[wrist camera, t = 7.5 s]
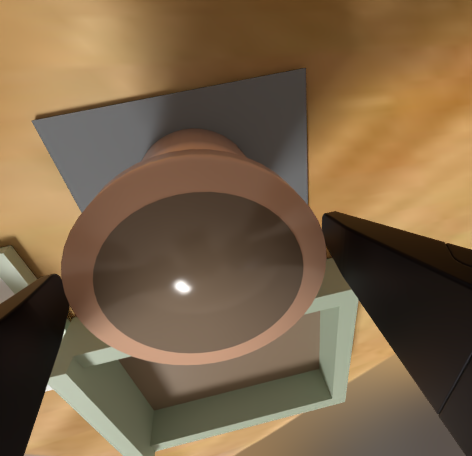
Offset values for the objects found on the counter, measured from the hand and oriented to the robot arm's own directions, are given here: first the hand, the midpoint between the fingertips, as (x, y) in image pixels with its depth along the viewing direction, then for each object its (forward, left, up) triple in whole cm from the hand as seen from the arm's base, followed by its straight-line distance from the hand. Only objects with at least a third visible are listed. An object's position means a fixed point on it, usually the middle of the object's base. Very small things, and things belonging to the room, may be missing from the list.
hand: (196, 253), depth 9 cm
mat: (0, 0, -6) cm, 6 cm away
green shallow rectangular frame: (+1, +14, -6) cm, 15 cm away
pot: (0, 0, -6) cm, 6 cm away
